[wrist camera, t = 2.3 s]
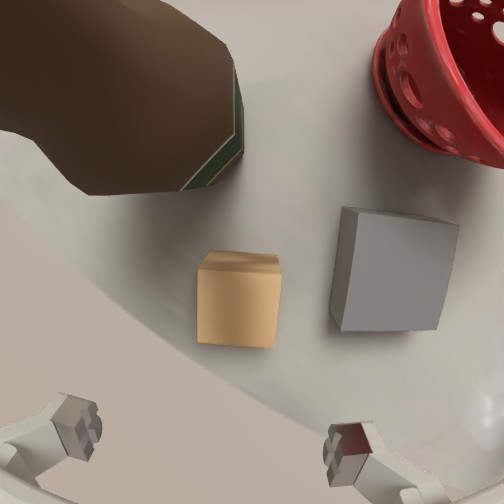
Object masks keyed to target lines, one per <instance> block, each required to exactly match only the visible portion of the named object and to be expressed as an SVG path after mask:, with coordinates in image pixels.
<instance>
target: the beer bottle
mask: <svg viewBox="0 0 504 504" xmlns="http://www.w3.org/2000/svg"><path fill="white" fill-rule="evenodd" d="M0 130H3V131H8V132H13V133H16V134H19V135H21V136H23V137H26V138H28V139H31V140H33V141H34V142H35V143H36V144H37V146H38V147H39V148H40V149H41V150H42V152H43V153H44V154H45V155H46V156H47V158H48V159H49V160H50V161H51V162H52V163H53V164H54V166H55V167H56V168H57V169H58V170H59V171H60V172H61V174H62V175H63V176H64V177H65V178H66V179H67V180H68V181H69V182H70V183H71V184H72V185H74V186H75V187H77V188H78V189H80V190H81V191H83V192H84V193H86V194H87V195H98V196H110V195H123V194H138V193H155V192H174V191H183V190H188V189H194V188H199V187H205V186H211V185H213V184H215V183H216V182H217V181H218V180H219V179H220V178H221V177H222V176H223V175H224V174H225V173H226V172H227V171H228V169H229V168H230V167H231V166H232V165H233V164H234V163H235V162H236V161H237V160H238V159H239V158H240V157H241V156H242V155H243V154H244V107H243V102H242V98H241V93H240V88H239V84H238V79H237V74H236V70H235V65H234V62H233V59H232V57H231V55H230V53H229V51H228V48H227V46H226V44H224V43H223V42H222V41H220V40H219V39H218V38H217V37H215V36H214V35H212V34H211V33H210V32H208V31H207V30H206V29H204V28H203V27H201V26H200V25H199V24H197V23H196V22H194V21H193V20H191V19H190V18H189V17H187V16H186V15H184V14H182V13H181V12H180V11H178V10H177V9H175V8H174V7H172V6H171V5H169V4H167V3H165V2H162V1H160V0H0Z"/></svg>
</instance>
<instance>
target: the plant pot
mask: <svg viewBox="0 0 504 504" xmlns="http://www.w3.org/2000/svg"><path fill="white" fill-rule="evenodd" d="M491 1H492V3H491V4H485V3H483V2H481V1H480V0H463V1H462V2H451V1H449V0H402V1H401V2H400V4H399V6H398V8H397V10H396V13H395V15H394V17H393V19H392V21H391V24H390V26H389V27H388V28H387V29H386V30H385V31H384V32H383V33H382V35H381V36H380V37H379V39H378V41H377V43H376V46H375V49H374V54H373V61H372V68H373V77H374V83H375V86H376V90H377V92H378V95H379V98H380V100H381V102H382V104H383V106H384V108H385V110H386V112H387V113H388V115H389V116H390V118H391V119H392V120H393V122H394V123H395V124H396V125H397V126H398V128H399V129H400V130H401V131H402V132H403V133H404V134H405V135H406V136H407V137H409V138H410V139H411V140H412V141H414V142H415V143H417V144H418V145H420V146H421V147H423V148H425V149H427V150H430V151H432V152H435V153H439V154H445V155H457V156H459V157H461V158H464V159H467V160H470V161H474V162H477V163H480V164H483V165H487V166H491V167H495V168H500V169H504V43H503V42H501V41H500V40H499V39H498V38H497V37H496V36H495V34H494V32H493V24H494V23H495V22H498V21H500V22H504V11H503V9H504V0H491ZM474 12H478V13H480V14H482V15H483V16H484V19H481V20H480V19H477V18H475V17H474V16H473V15H472V14H473V13H474Z"/></svg>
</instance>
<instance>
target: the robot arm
mask: <svg viewBox="0 0 504 504" xmlns="http://www.w3.org/2000/svg"><path fill="white" fill-rule="evenodd" d="M97 411H98V408H97V405H96V403H95V402H93V401H89V400H85V399H82V398H79V397H76V396H72V395H68V394H65V393H62V392H58V393H57V394H56V395H55V396H54V397H53V398H52V400H51V401H50V402H49V404H48V405H47V406H46V407H45V409H44V410H43V411H42V412H41V413H40V415H39V416H36V415H35V416H32V417H29V418H27V419H24V420H21V421H18V422H16V423H13V424H10V425H7V426H5V427H2V428H0V504H78V503H75V502H72V501H70V500H67V499H64V498H62V497H60V496H57V495H55V494H53V493H50V492H48V491H46V490H43V489H41V487H40V486H39V484H38V483H37V481H36V480H35V477H36V476H38V475H40V474H41V473H43V472H45V471H46V470H48V469H49V468H51V467H53V466H54V465H56V464H58V463H59V462H61V461H62V460H64V459H65V458H67V457H68V456H70V457H74V458H76V459H80V460H83V461H86V462H88V460H89V459H90V457H91V455H92V453H93V451H94V448H93V444H94V443H97V442H99V439H100V437H101V434H102V422H101V419H100V417H99V416H98V415H97V414H96V413H97ZM328 434H329V438H327V439H326V440H325V443H324V447H323V459H324V464H325V465H326V466H328V467H329V469H328V471H327V477H328V482H329V486H330V487H338V486H348V485H353V486H354V487H355V488H356V489H357V490H358V491H359V492H360V493H361V494H362V495H363V496H364V497H365V498H366V499H368V500H369V501H370V502H371V503H372V504H504V480H502V481H500V482H498V483H496V484H494V485H492V486H490V487H488V488H485V489H483V490H481V491H479V492H477V493H474V494H472V495H470V496H467V497H465V498H462V499H460V500H458V501H455V502H452V503H451V501H450V499H449V497H448V495H447V493H446V492H445V490H444V488H443V486H442V484H441V482H440V480H439V479H438V478H436V477H435V476H433V475H431V474H429V473H428V472H426V471H424V470H422V469H421V468H419V467H417V466H416V465H414V464H412V463H411V462H409V461H407V460H406V459H404V458H402V457H401V456H399V455H398V454H396V453H394V452H393V451H387V449H386V446H385V444H384V442H383V440H382V438H381V436H380V433H379V431H378V429H377V427H376V425H375V423H374V422H373V421H362V422H352V423H340V424H331V425H330V427H329V430H328Z"/></svg>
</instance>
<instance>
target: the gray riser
mask: <svg viewBox="0 0 504 504" xmlns="http://www.w3.org/2000/svg"><path fill="white" fill-rule="evenodd" d="M458 230H459V226H458V225H455V224H452V223H449V222H445V221H442V220H438V219H435V218H431V217H424V216H417V215H409V214H402V213H394V212H386V211H378V210H369V209H361V208H352V207H342V214H341V223H340V232H339V240H338V248H337V256H336V264H335V271H334V278H333V285H332V291H331V298H330V304H329V309H330V311H331V313H332V315H333V317H334V319H335V321H336V323H337V325H338V327H339V329H340V331H423V330H436V329H437V326H438V322H439V319H440V315H441V312H442V308H443V304H444V300H445V296H446V292H447V288H448V283H449V279H450V274H451V270H452V265H453V259H454V254H455V249H456V243H457V237H458Z"/></svg>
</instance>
